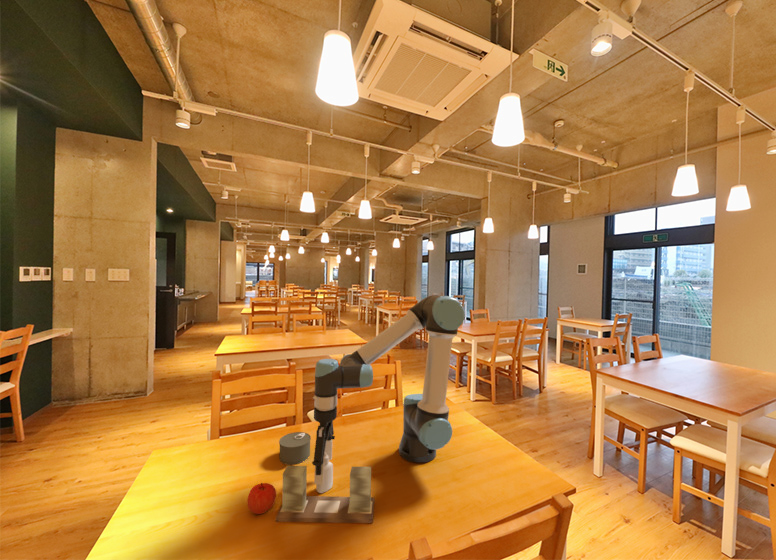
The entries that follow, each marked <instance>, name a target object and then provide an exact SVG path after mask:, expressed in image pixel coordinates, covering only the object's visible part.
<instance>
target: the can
mask: <svg viewBox="0 0 776 560" xmlns="http://www.w3.org/2000/svg"><path fill="white" fill-rule="evenodd" d="M311 439H312V436H311V435H310V434H309V433H307V432H303V431H295V432H290V433H287V434H285V435H283V436H281V437H280V439H279V441H278V442H279V462H280V463H282V465H286V466H296V465H298V464H301V463H304V462H305V460H306V459H307V460H309V458H310V457H311ZM309 456H310V457H309ZM308 457H309V458H308ZM307 460H306V461H307ZM303 461H304V462H303Z"/></svg>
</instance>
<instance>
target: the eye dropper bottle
mask: <svg viewBox="0 0 776 560" xmlns="http://www.w3.org/2000/svg"><path fill="white" fill-rule="evenodd" d="M323 462H324V482H323V484H315V485H316V488H315V489H316V492H318V494H325V492H328V491H329V490H331V488H332V487H333V485H334V464H333V463H332V462H331V461H330V460H329V456H328V455H327V454H326V452H325V453H324V459H323Z"/></svg>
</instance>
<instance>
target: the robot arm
mask: <svg viewBox="0 0 776 560" xmlns="http://www.w3.org/2000/svg"><path fill="white" fill-rule="evenodd" d="M465 315H466V313H465V309H464V306H463V305H462V303H461V302H460V301H459V300H458V299H456V298H454V297H452V296H448V295H437V294H436V295H435V294H433V295H428V296H425V298H423V299H422V300H420V301H418V302H417V303H416V304H415V305H413V306H412V307H410V308H409V309H408V310H407V312H406V314H405V315H403V316H402V317H400V318H399V319H398V320H396V321H395V322H394V323H393V324H391V325H390V326H389V327H387V328H385V329H384V330H382V331H381V332H380V333H378V334H377V335H376V336H374V337H373V338H371V339H370V340H369V341H367V342H366V343H365V344H363V345H362V346H361V347H360V348H358V349H357V350H355V351H354V352H352V353H349V354H345V355H344V356H343V357H342V358H341V359H340V362H339V361H338V360H336V359H334V358H322V359H319V360H318V361H317V362H316V363H315V370H314V396H313V397H312V400H314V401H313V404H314V405H313V406H314V408H313V420H314V421H315V422H318V423H319V425H318V426H317V429H316V437H315V445H314V453H313V454H314V455H313V460H312V462H311V464H312V466H314V478H313V479H314V481H313V483H314V485H316V484H323V482H324V462H323V459H324V453H325V452H326V454H327V455H328V456H329V461H331V460H332V459H333V440H335V437H336V436H335V435H334V434H335V433H334V432H335V431H334V421H335V420H336V419H337V415H338V413H337V411H338V408H337V405H338V389H339V390H340V389H357V388H358V389H359V388H360V389H361V388H368V387H371V386H372V385H373V382H374V371H373V366H372V364H373V363H374V362H375V361H376V360H378V359H379V358H381V357H382V356H383V355H385V354H386V353H388V352H389V351H390V350H392V349H393V348H395V347H396V346H397V345H398V344H400V343H401V342H403V341H404V340H405V339H407V338H409V336H411V335H412V334H414V333H415V332H416V331H418V330H424V328H425V331H426V333H427V334H428V344H427V352H426V353H427V354H426V362H425V370H424V381H423V389H422V393H413V394H412V393H411V394H408V395H406V396H405V397H404V398H403V404H402V405H403V423H402V424H403V427H402V428H403V429H402V430H403V431H402V435H401V439H400V442H399V444H398V453H399V456H400V455H401V456H400V457H401V458H402V459H404V460H406V461H407V462H411V463H416V464H423V463H424V464H425V463H428V462H431V461H433V460H434V459H435V458H436V456H437V450H440V449H442V448H444V447H445V446H446V445H447V444H449V442H450V441H451V440H452V436H453V426H452V424H451V422H449V415H450V414H449V413H450V408H449V407H448V405H447V404H446V402H447V393H448V392H447V391H448V385H449V384H448V383H449V373H450V365H451V356H452V355H451V354H452V347H453V346H452V345H453V339H454V338H455V337H456V336H457V335H458V330H459V328H460V326H461V325H463V323H464V321H465V317H466V316H465Z"/></svg>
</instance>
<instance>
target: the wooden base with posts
mask: <svg viewBox="0 0 776 560" xmlns="http://www.w3.org/2000/svg"><path fill="white" fill-rule="evenodd" d="M307 468H308V467H307V465H286V467H285V469H284V470H283V473H282V500H281V501H282V504H281V506H280V507H279V509H278V511H277V514H276V516H275V522H282V523H283V522H285V523H286V522H288V523H289V522H290V523H291V522H294V523H298V522H299V523H339V524H340V523H345V524H355V523H356V524H374V513H375V512H374V509H375V496H373V497H372V466H351V469H350V472H349V473H350V474H349V496H326V495H325V496H324V495H323V496H319V495H314V496H313V495H307Z"/></svg>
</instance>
